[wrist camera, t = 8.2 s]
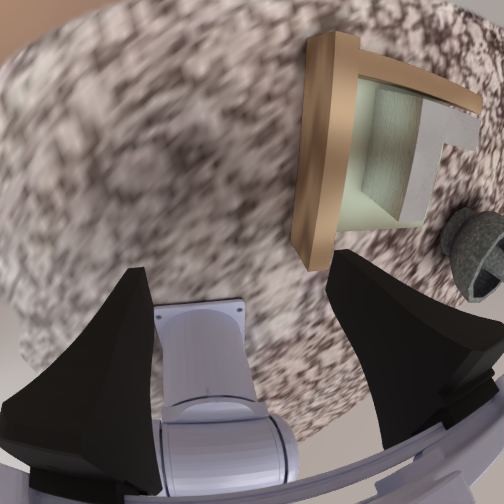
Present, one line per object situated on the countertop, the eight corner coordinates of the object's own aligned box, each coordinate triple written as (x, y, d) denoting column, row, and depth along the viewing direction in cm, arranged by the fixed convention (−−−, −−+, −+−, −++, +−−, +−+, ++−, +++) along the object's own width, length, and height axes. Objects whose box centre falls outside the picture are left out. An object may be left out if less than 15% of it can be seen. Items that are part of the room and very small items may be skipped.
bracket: (375, 88, 16) (423, 98, 12) (435, 105, 17) (481, 120, 13) (360, 191, 21) (398, 222, 17) (418, 192, 22) (456, 220, 18)
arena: (417, 231, 25) (442, 254, 22) (290, 240, 22) (308, 271, 19) (449, 80, 17) (483, 88, 13) (307, 38, 14) (335, 30, 11)
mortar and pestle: (415, 261, 27) (484, 341, 18) (454, 183, 23) (544, 249, 13) (463, 269, 31) (517, 329, 21) (494, 208, 26) (559, 262, 16)
